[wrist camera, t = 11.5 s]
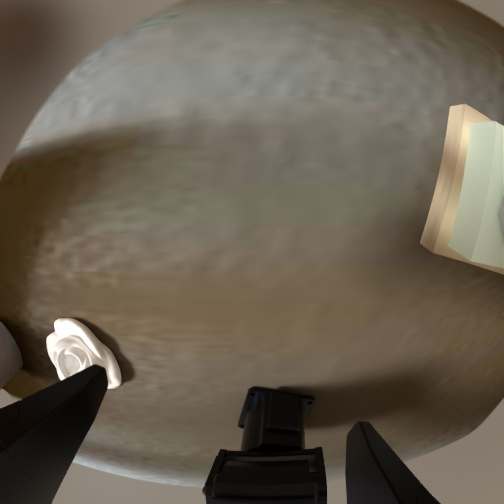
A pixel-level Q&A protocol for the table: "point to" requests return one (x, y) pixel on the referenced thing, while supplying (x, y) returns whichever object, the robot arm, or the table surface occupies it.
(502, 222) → the flask
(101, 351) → the rose
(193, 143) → the table surface
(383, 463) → the robot arm
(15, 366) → the pillar candle
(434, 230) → the tower base
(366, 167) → the table surface
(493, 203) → the tower top
